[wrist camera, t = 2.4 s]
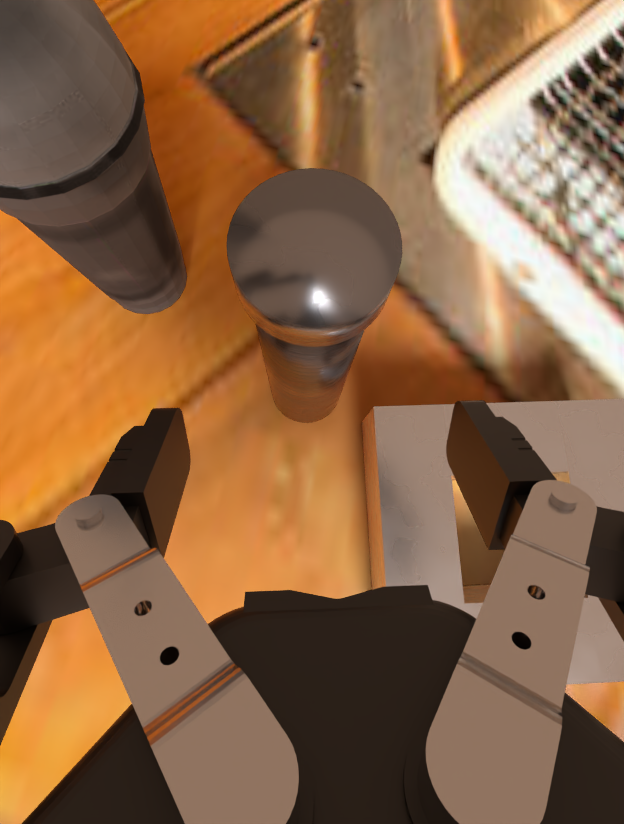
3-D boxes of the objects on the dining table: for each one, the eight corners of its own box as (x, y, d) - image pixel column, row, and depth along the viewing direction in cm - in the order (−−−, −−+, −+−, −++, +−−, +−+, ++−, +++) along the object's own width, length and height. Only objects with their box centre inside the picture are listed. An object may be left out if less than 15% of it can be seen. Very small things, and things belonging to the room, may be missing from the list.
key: (267, 429, 24) (226, 328, 11) (266, 352, 25) (227, 169, 12) (347, 426, 24) (409, 324, 11) (343, 350, 25) (395, 167, 12)
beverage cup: (134, 202, 27) (-298, -603, 7) (235, 261, 26) (50, -449, 7) (58, 295, 26) (-723, -395, 6) (162, 360, 25) (-336, -177, 5)
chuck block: (376, 660, 22) (393, 693, 18) (361, 422, 24) (373, 406, 21) (612, 648, 22) (678, 678, 18) (574, 415, 25) (625, 398, 21)
